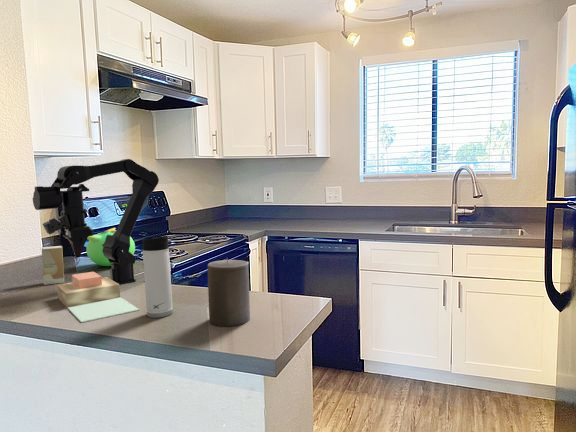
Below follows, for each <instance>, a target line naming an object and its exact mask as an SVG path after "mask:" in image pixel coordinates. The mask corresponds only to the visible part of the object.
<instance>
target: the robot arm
mask: <svg viewBox="0 0 576 432" xmlns="http://www.w3.org/2000/svg"><path fill="white" fill-rule="evenodd" d="M118 173H125V175H126V176H127V177H128V179H129V180H132V185H131V188H132V190H131V191H132V193H131V196H130V199H129V200H128V202H127V205H126V207H125V210H124V211H123V212H124V213H123V214H122V217H121V219H120V222H119V224H118V226H117V228H116V229H115V231H116V232H115V233H114V234H113V235H107V236H106V240H105V242H104V244H103V245H102V246H103V250H102V252H103V254H104V256H105V257H106V258H108V260H109V263H113V264H111V266H110V267H111V268H109V276H110V278H109V279H111V280H113V281H115V282H116V283H118V284H119V285H120V284H128V283H133V282H137V279H135V273H134V265H135V264H136V260H137V256H135V254H131V253H130V252H129V248H130V237H131V236H132V235H131V234H132V232H133V231H134V227H136V223H137V221H138V218H139V216H140V214H141V212H142V210H143V207H144V204H145V201H147V200H146V199H147V198H148V197H149V196H150V195H151V194H153V192H154V191H155V189H156V188H157V186H158V184H159V181H160V179H159V177H158V174H157V173H156V172H155V171H152V170H149V169H148V168H146V167H144V166H142V165H140V164H138V163H137V162H135V161H134V160H133V159H131V158H125V159H121V160H116V161H112V162H105V163H99V164H93V165H67V166H66V165H65V166H62V167H60V168H59V169H58V171H57V177H56V178H55V180H54V181H53V182H52V184H51V185H50V186H40V185H39V186H34V192H33V193H32V194H33V195H32V196H33V197H32V203H33V208H34V209H35V210H36V211H40V210H41V211H44V210H53V209H59V207H60V206H62V210H61V212H60V216H58V217H53V218H50V219H49V220H48V221H45V222H43V223H42V227H43V228H44V230H45V232H46V234H48V235H51V234H53V233H56V232H58V233H59V234H63V233H65V234H63V235H62V236H63V237H64V238H65V239H67V240H68V241H69V244H70V247H71V249H72V251H73V254H74V257H75V258H76V259H77V258H81V255H82V253H83V249H84V247H85V244H86V242H87V240H88V239H87V238H88V236H93V235H95V234H94V229H93V228H92V227H91V226H89V225H88V223H86V219H85V218H86V217H85V214H86V213H87V212H86V211H87V210H86V209H84V208H85V207H84V198H83V197H84V196H83V192H90V188H88V187H87V186H86V185H85V184H84V183H85V182H87V181H89V180H91V179H94V178H97V177H102V176H108V175H113V174H118ZM74 185H78V186H74ZM61 189H63V190H61ZM65 189H66V190H65Z"/></svg>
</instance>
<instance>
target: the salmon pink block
mask: <svg viewBox="0 0 576 432" xmlns="http://www.w3.org/2000/svg"><path fill="white" fill-rule="evenodd" d="M102 278H103V277H102V276H101V274H98V273H96V272H95V271H89V272H81V273H75V274H71V283H73V284H74V285H75V286H77V287H78V288H79V289H82V288H87V287H93V286H99V285H102Z"/></svg>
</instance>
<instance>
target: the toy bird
mask: <svg viewBox="0 0 576 432" xmlns="http://www.w3.org/2000/svg"><path fill="white" fill-rule="evenodd" d="M116 230H117V228H116V227H112V228H109V229H107V230H104V231H101V232H98V233H97V234H94V235H93V236H88V238H87V240H88V242H87V244H86V247H85V248H86V250H85V251H86V255H87V257H88V258H89V260H90V261H91V262H92V263H94V264H96V265H99V266H103V267H111V264H113V263H109V260H108V258H106V257H105V256H104V254H103V252H102V250H103V246H102V245H103V244H104V242H105V240H106V236H107V235H113V234H114V233H115V232H116ZM135 251H136V244H135V241H134V240H133V238H132V236H130V248H129V252H130V253H131V254H133V255H135Z"/></svg>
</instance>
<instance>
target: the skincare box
mask: <svg viewBox="0 0 576 432" xmlns="http://www.w3.org/2000/svg"><path fill="white" fill-rule="evenodd" d="M63 256H64V255H63V246H62V245H56V246H52V245H51V246H43V247H41V261H42V262H41V264H42V265H41V266H42V277H43V278H42V279H43V280H42V281H43V285H44V286H47V285H48V286H49V285H55V284H65V274H64V273H65V272H64V257H63Z"/></svg>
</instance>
